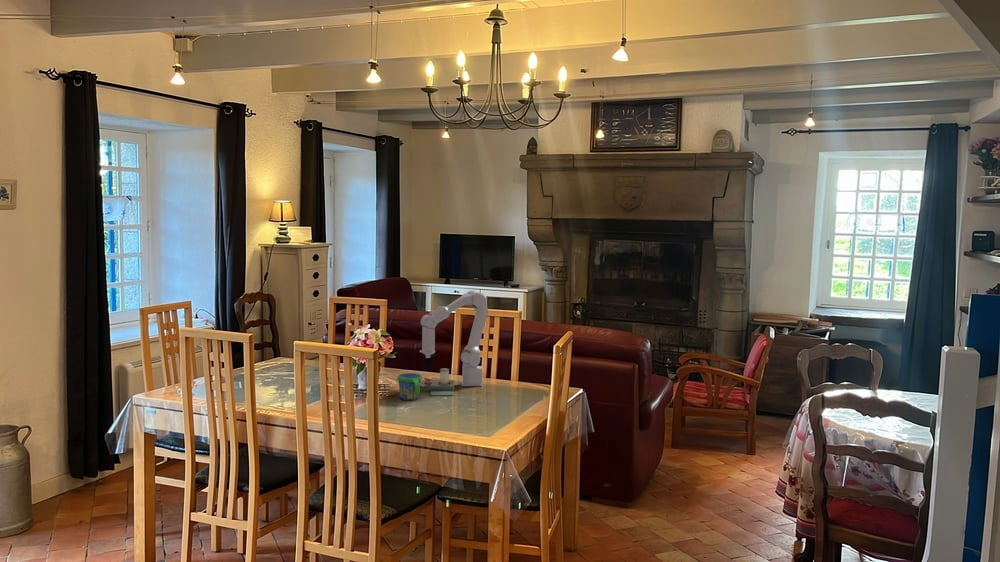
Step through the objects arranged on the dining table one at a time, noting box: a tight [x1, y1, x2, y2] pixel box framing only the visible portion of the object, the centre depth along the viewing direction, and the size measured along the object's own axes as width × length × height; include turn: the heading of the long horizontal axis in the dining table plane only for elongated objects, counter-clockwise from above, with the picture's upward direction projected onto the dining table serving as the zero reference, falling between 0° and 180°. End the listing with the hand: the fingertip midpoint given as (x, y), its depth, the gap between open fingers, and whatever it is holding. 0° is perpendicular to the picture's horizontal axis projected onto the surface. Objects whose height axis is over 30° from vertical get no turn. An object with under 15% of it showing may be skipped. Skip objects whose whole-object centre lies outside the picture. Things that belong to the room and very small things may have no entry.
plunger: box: [423, 376, 433, 384], centre depth 338 cm, size 4×4×3 cm
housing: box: [420, 379, 455, 393], centre depth 338 cm, size 15×12×2 cm
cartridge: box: [439, 367, 450, 384], centre depth 338 cm, size 4×4×9 cm
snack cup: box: [396, 373, 423, 401], centre depth 318 cm, size 16×10×10 cm
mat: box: [430, 391, 454, 397], centre depth 328 cm, size 10×6×1 cm, turn 94°
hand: (428, 370), depth 337 cm, fingers closed
